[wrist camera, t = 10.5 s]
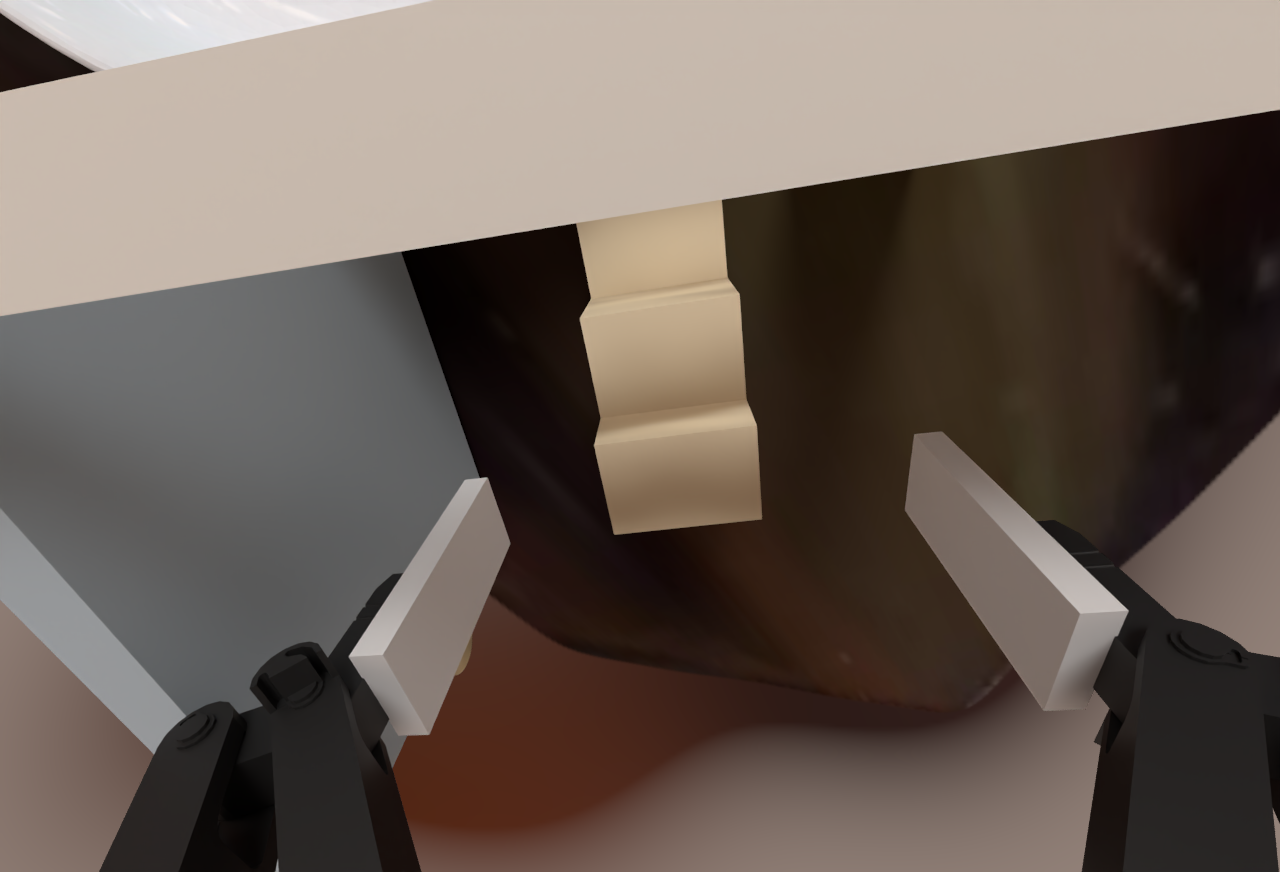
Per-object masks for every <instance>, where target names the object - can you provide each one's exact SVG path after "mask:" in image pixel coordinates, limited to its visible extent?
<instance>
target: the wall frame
mask: <svg viewBox="0 0 1280 872" xmlns="http://www.w3.org/2000/svg"><path fill="white" fill-rule="evenodd" d="M1274 110H1280V0H433V1H428V2H424V3H419V4H414V5H410V6H405V7H400V8H395V9H391V10H386V11H381V12H377V13H372V14H367V15H363V16H358V17H353V18H348V19H344V20H339V21H334V22H330V23H325V24H320V25H315V26H311V27H306V28H301V29H297V30H292V31H287V32H282V33H278V34H273V35H268V36H264V37H259V38H254V39H250V40H245V41H240V42H235V43H231V44H226V45H221V46H217V47H212V48H207V49H202V50H198V51H193V52H188V53H184V54H179V55H174V56H170V57H165V58H160V59H155V60H151V61H146V62H141V63H137V64H132V65H127V66H122V67H118V68H113V69H108V70H104V71H99V72H94V73H90V74H85V75H80V76H75V77H71V78H66V79H61V80H57V81H52V82H47V83H42V84H38V85H33V86H28V87H24V88H19V89H14V90H9V91H5V92H0V316H4V315H11V314H17V313H23V312H29V311H35V310H42V309H48V308H54V307H60V306H66V305H73V304H79V303H85V302H91V301H97V300H104V299H110V298H116V297H122V296H128V295H134V294H141V293H147V292H153V291H159V290H165V289H172V288H178V287H184V286H190V285H196V284H203V283H209V282H215V281H221V280H227V279H234V278H240V277H246V276H252V275H258V274H264V273H271V272H277V271H283V270H289V269H295V268H302V267H308V266H314V265H320V264H326V263H333V262H339V261H345V260H351V259H357V258H364V257H370V256H376V255H382V254H388V253H394V252H401V251H407V250H413V249H419V248H425V247H432V246H438V245H444V244H450V243H456V242H463V241H469V240H475V239H481V238H487V237H494V236H500V235H506V234H512V233H518V232H525V231H531V230H537V229H543V228H549V227H555V226H562V225H568V224H574V223H580V222H586V221H593V220H599V219H605V218H611V217H617V216H624V215H630V214H636V213H642V212H648V211H655V210H661V209H667V208H673V207H679V206H685V205H692V204H698V203H704V202H710V201H716V200H723V199H729V198H735V197H741V196H747V195H754V194H760V193H766V192H772V191H778V190H785V189H791V188H797V187H803V186H809V185H815V184H822V183H828V182H834V181H840V180H846V179H853V178H859V177H865V176H871V175H877V174H884V173H890V172H896V171H902V170H908V169H915V168H921V167H927V166H933V165H939V164H945V163H952V162H958V161H964V160H970V159H976V158H983V157H989V156H995V155H1001V154H1007V153H1014V152H1020V151H1026V150H1032V149H1038V148H1045V147H1051V146H1057V145H1063V144H1069V143H1075V142H1082V141H1088V140H1094V139H1100V138H1106V137H1113V136H1119V135H1125V134H1131V133H1137V132H1144V131H1150V130H1156V129H1162V128H1168V127H1175V126H1181V125H1187V124H1193V123H1199V122H1205V121H1212V120H1218V119H1224V118H1230V117H1236V116H1243V115H1249V114H1255V113H1261V112H1267V111H1274Z"/></svg>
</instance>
